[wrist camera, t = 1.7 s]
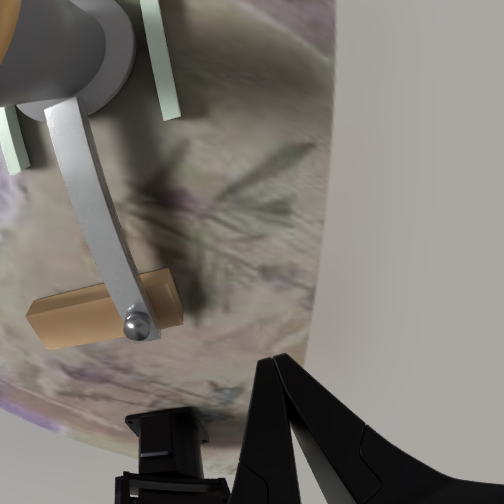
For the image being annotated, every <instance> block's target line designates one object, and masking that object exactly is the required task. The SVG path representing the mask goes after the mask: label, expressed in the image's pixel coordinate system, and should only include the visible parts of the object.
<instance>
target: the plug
mask: <svg viewBox="0 0 504 504" xmlns="http://www.w3.org/2000/svg"><path fill="white" fill-rule="evenodd" d="M136 50H137V41H136V33H135V30H134V26H133V24H132V22H131V20H130V18H129V17H128V15H127V14H126V13H125V11H124V10H123V9H122V8H121V7H120V6H119V5H118V4H117V2H115V1H114V0H0V108H2V107H7V106H12V105H16V106H17V107H18V108H19V109H20V110H21V111H22V112H23V113H24V114H25V115H27V116H28V117H30V118H32V119H34V120H37V121H40V122H44V123H47V120H46V116H45V112H44V110H45V109H47V108H50V107H52V106H54V105H57V104H59V103H61V102H64V101H66V100H68V99H71V98H73V97H76V96H83V97H84V102H85V106H86V110H87V114H88V115H90V114H92V113H94V112H96V111H97V110H99V109H101V108H102V107H103V106H105V105H106V104H107V103H109V102H110V101H111V100H112V99H113V98H114V97H115V96H116V95H117V93H118V92H119V91H120V90H121V88H122V87H123V86H124V84H125V83H126V81H127V79H128V77H129V75H130V73H131V70H132V68H133V65H134V61H135V57H136Z"/></svg>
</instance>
